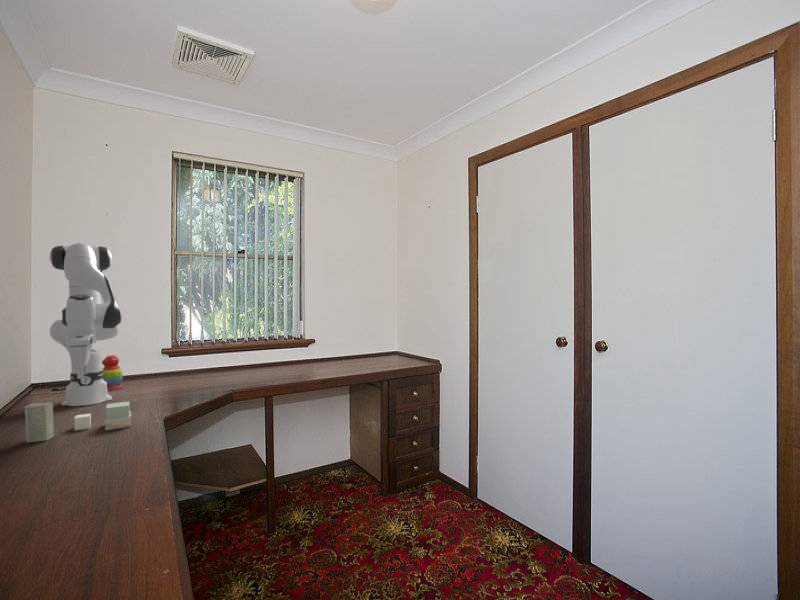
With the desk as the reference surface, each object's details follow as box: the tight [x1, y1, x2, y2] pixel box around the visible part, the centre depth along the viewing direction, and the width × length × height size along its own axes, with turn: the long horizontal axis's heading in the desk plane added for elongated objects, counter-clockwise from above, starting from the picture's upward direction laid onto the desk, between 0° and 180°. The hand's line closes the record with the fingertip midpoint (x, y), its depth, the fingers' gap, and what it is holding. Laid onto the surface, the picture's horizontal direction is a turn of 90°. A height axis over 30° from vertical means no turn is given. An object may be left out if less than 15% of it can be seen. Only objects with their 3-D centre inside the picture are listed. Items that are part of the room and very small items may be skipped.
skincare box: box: [24, 401, 55, 443], centre depth 142 cm, size 6×4×12 cm
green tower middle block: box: [105, 401, 131, 419], centre depth 157 cm, size 7×7×4 cm
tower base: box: [104, 410, 132, 431], centre depth 157 cm, size 8×8×4 cm
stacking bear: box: [101, 354, 124, 392], centre depth 219 cm, size 11×10×18 cm
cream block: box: [73, 413, 92, 431], centre depth 154 cm, size 4×4×4 cm
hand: (82, 376), depth 154 cm, fingers open, 8 cm apart
